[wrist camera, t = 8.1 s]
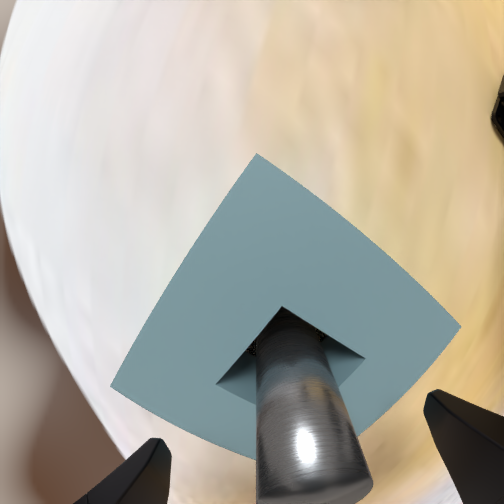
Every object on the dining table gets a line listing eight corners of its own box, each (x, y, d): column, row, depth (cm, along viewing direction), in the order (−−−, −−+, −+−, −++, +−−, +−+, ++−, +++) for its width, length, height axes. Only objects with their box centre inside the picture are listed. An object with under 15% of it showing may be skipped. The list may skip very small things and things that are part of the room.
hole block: (422, 297, 14) (461, 326, 10) (297, 430, 16) (304, 474, 12) (255, 164, 13) (256, 153, 9) (137, 346, 15) (109, 386, 11)
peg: (323, 321, 14) (394, 478, 5) (288, 360, 15) (316, 522, 5) (278, 292, 14) (314, 463, 4) (244, 335, 15) (232, 508, 5)
